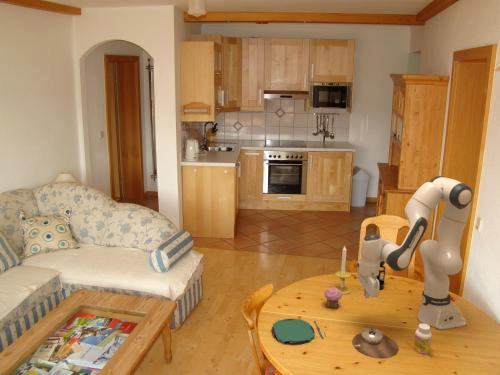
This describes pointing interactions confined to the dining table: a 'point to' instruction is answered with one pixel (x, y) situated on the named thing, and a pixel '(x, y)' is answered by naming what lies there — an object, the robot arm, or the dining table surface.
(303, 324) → the cutlery set
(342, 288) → the candle
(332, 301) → the cupcake
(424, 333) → the supplement bottle
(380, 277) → the french press
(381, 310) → the dining table surface
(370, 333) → the cover
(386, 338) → the platter
